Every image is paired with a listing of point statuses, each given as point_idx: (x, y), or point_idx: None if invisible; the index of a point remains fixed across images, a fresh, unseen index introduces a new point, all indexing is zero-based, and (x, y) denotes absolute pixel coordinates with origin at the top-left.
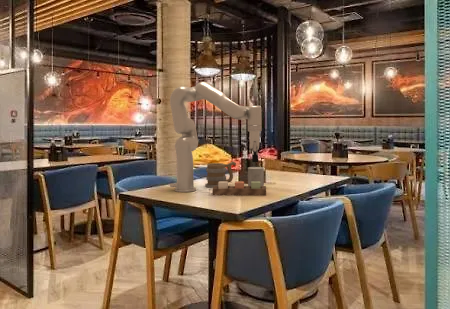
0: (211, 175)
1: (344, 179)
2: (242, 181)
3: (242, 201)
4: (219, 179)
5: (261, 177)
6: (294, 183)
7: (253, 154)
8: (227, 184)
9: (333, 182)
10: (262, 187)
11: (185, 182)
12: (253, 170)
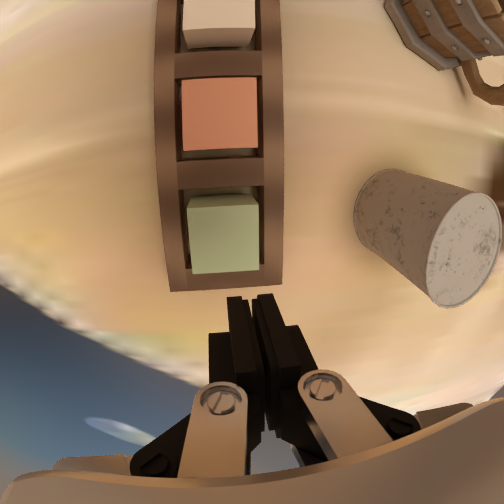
0: None
1: None
2: (253, 134)
3: (20, 174)
4: (425, 13)
5: (397, 269)
6: (449, 351)
7: (200, 403)
8: (190, 34)
9: None
10: None
11: None
12: (426, 234)
